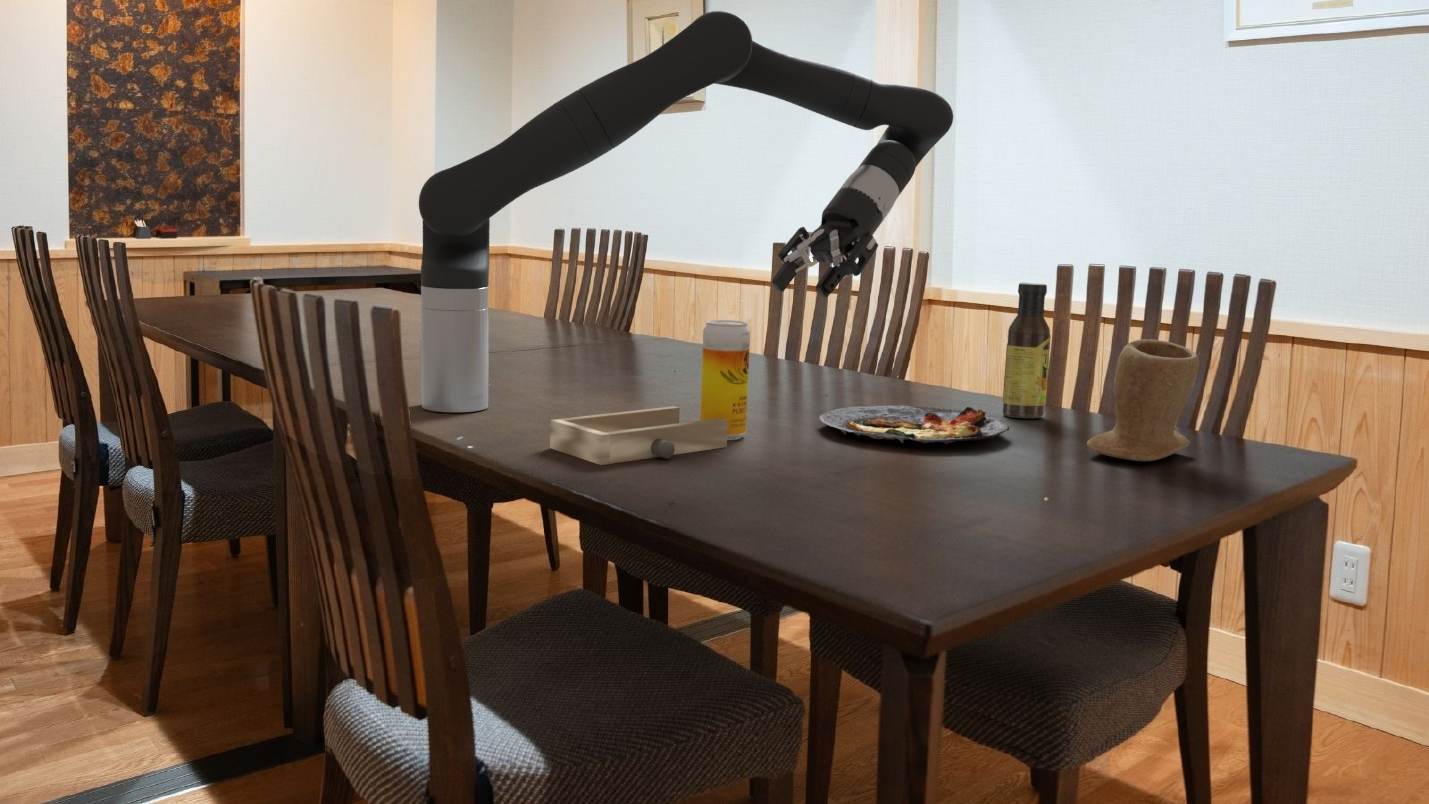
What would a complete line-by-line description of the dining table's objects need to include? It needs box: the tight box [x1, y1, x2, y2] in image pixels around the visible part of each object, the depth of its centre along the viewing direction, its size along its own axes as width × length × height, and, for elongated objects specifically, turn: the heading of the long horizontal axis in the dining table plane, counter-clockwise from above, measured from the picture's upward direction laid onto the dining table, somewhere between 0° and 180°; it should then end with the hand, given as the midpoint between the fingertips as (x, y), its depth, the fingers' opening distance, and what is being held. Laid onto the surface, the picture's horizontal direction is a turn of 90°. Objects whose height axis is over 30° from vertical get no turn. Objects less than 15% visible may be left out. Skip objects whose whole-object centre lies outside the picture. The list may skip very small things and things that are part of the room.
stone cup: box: [1086, 339, 1200, 462], centre depth 154 cm, size 15×12×15 cm
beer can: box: [699, 319, 751, 441], centre depth 157 cm, size 6×6×15 cm
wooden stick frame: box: [549, 405, 728, 466], centre depth 149 cm, size 15×19×4 cm
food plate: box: [818, 404, 1010, 445], centre depth 165 cm, size 25×23×4 cm
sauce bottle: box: [1002, 281, 1052, 419], centre depth 179 cm, size 6×6×20 cm
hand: (798, 290), depth 163 cm, fingers open, 8 cm apart
